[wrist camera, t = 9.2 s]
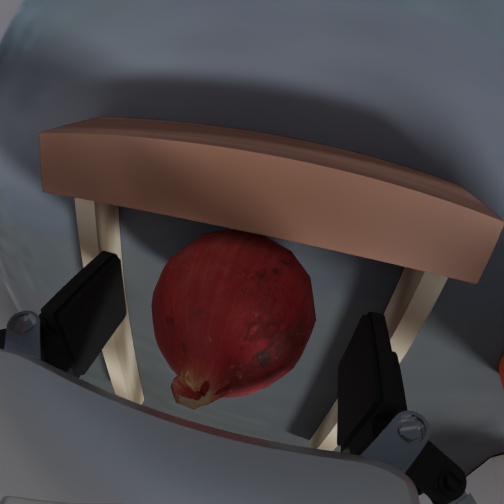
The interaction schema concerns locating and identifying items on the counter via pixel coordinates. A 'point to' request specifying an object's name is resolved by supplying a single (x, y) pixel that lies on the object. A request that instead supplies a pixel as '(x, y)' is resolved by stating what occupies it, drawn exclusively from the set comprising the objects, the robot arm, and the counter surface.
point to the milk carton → (487, 482)
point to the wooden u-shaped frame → (269, 210)
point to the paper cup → (501, 369)
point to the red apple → (231, 315)
